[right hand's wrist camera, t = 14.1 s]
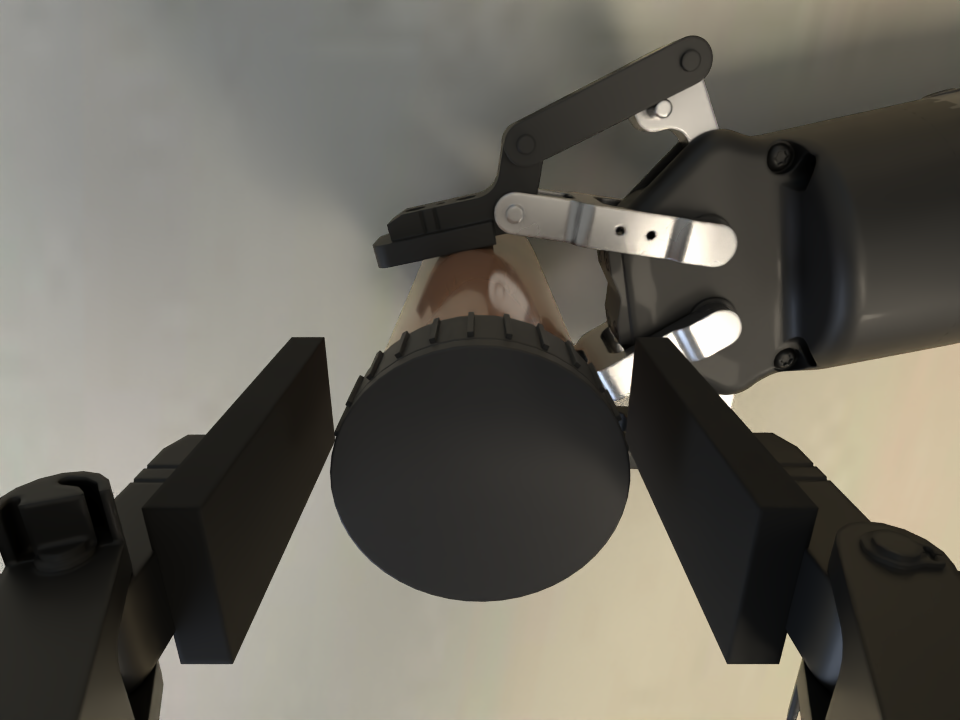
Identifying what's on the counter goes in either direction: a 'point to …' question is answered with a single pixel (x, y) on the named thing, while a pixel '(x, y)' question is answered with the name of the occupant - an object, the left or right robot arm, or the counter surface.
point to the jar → (482, 288)
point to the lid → (480, 460)
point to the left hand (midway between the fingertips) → (404, 332)
